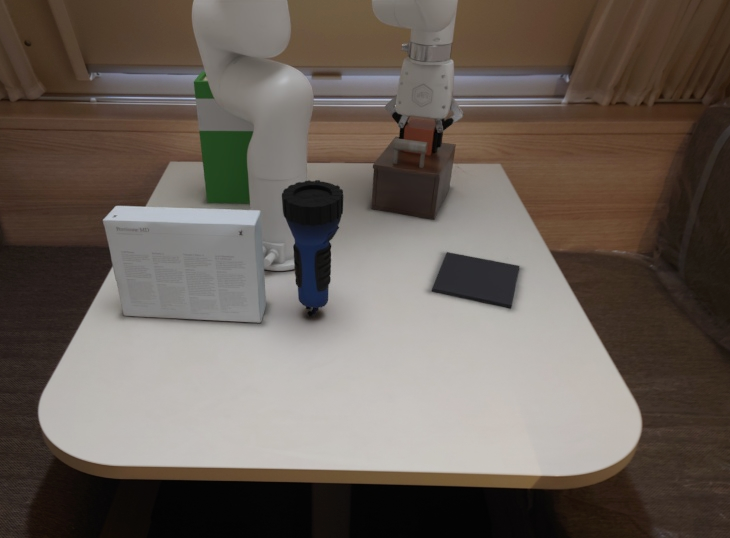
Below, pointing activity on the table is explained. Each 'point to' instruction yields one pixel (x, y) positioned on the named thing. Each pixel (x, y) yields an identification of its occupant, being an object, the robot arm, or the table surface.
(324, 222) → the flashlight
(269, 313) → the table surface
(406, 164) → the lid
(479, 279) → the mat
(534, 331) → the table surface
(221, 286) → the skincare box
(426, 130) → the small box
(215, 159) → the hardback book
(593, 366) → the table surface
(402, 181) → the chest
